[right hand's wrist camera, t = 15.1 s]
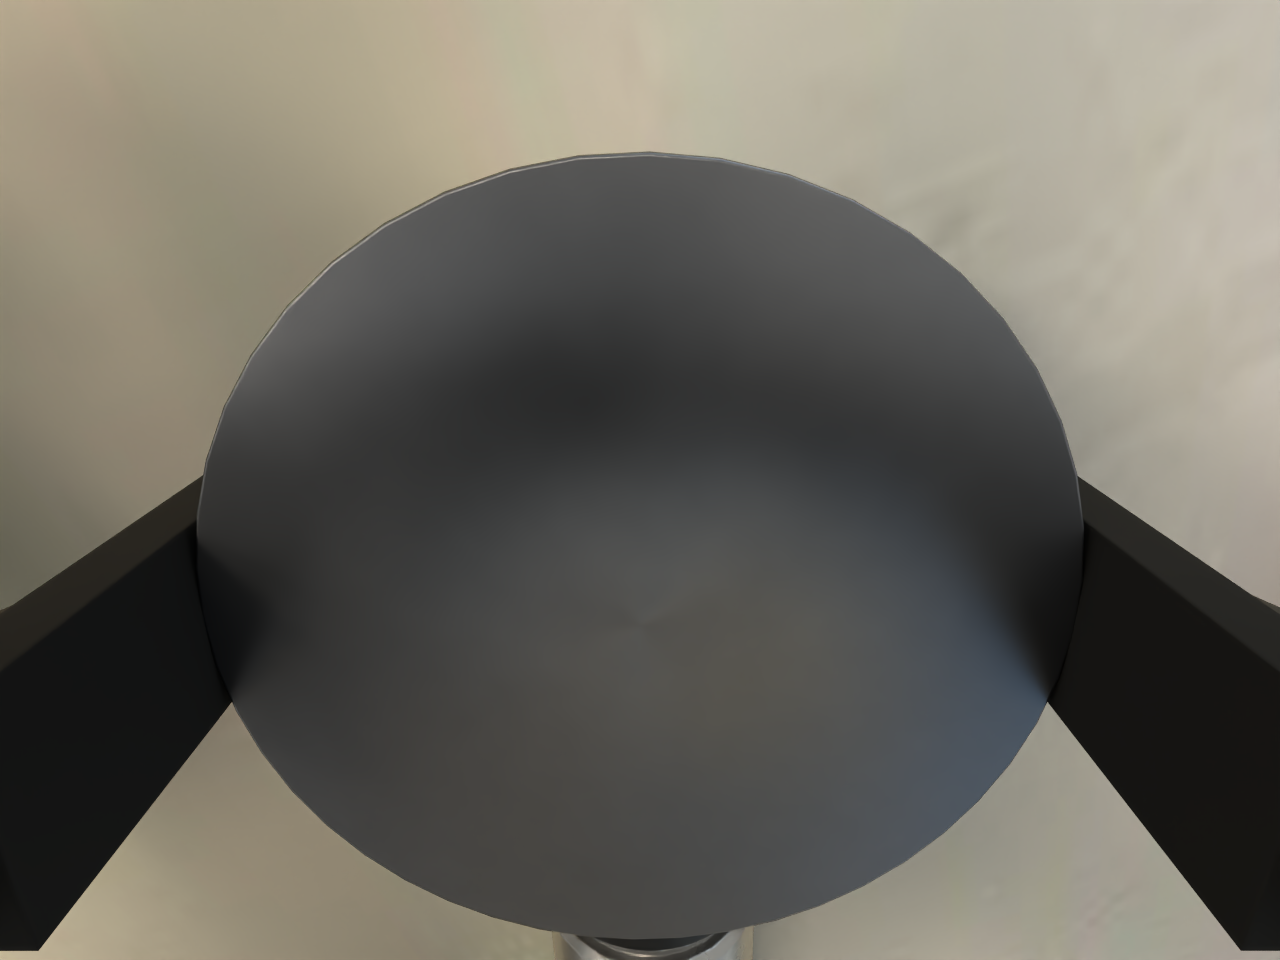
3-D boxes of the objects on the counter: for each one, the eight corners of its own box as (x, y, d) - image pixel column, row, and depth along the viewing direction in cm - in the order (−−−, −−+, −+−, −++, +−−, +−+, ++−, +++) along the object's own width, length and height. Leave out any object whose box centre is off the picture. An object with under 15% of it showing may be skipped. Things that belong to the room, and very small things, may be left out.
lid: (131, 609, 12) (45, 684, 11) (562, -58, 9) (542, -116, 7) (688, 935, 15) (694, 1040, 13) (1175, 502, 12) (1274, 562, 10)
